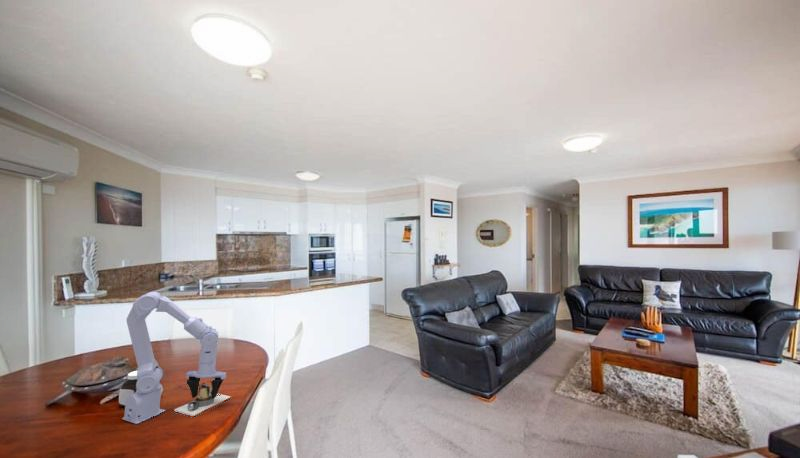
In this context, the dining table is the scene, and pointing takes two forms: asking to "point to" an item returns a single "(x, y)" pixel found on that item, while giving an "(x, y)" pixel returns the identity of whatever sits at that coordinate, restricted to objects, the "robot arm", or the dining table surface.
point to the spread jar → (128, 388)
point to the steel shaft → (193, 405)
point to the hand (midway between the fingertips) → (204, 397)
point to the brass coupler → (204, 393)
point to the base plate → (192, 413)
